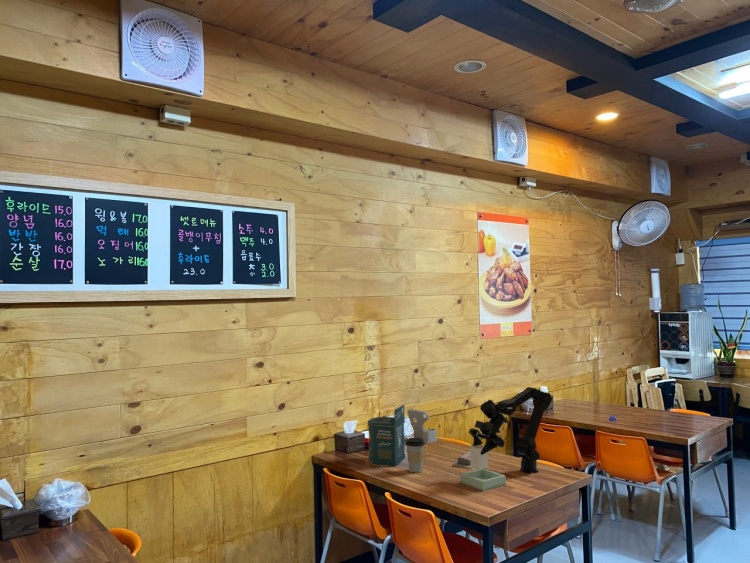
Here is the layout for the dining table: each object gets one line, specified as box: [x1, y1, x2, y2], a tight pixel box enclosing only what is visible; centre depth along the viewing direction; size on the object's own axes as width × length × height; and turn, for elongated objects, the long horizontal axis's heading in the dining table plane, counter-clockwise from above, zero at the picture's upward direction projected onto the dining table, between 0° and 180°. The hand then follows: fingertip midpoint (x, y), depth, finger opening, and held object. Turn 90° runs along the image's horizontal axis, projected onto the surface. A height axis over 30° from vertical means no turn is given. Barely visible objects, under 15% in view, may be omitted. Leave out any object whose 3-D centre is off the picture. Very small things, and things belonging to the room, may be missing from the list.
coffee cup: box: [404, 438, 426, 474], centre depth 273 cm, size 9×9×15 cm
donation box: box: [367, 404, 406, 467], centre depth 291 cm, size 16×16×28 cm
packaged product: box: [452, 450, 474, 469], centre depth 286 cm, size 18×5×10 cm
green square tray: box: [459, 468, 507, 492], centre depth 252 cm, size 14×14×4 cm
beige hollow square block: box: [469, 444, 489, 470], centre depth 254 cm, size 6×6×9 cm
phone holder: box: [406, 408, 438, 444], centre depth 336 cm, size 17×10×18 cm, turn 42°
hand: (476, 452), depth 254 cm, fingers closed on beige hollow square block, 6 cm apart
